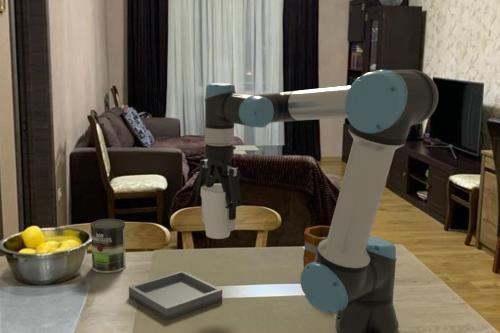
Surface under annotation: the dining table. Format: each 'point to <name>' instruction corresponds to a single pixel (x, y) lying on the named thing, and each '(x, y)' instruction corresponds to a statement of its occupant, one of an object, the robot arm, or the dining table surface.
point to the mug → (313, 241)
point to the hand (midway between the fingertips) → (217, 225)
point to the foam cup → (214, 211)
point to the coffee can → (108, 245)
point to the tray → (175, 294)
